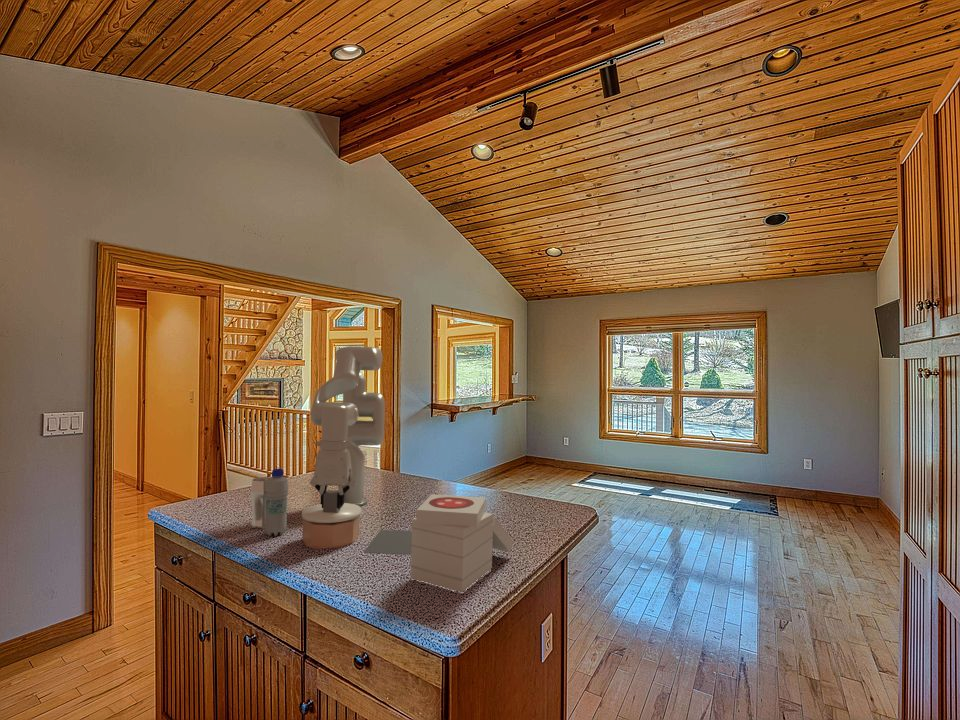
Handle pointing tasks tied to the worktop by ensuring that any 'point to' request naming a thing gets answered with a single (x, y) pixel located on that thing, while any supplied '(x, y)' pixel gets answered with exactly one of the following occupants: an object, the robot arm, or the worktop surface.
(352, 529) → the bowl
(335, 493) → the lid
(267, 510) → the bottle
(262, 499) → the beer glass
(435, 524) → the pizza boxes
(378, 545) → the mat
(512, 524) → the worktop surface
